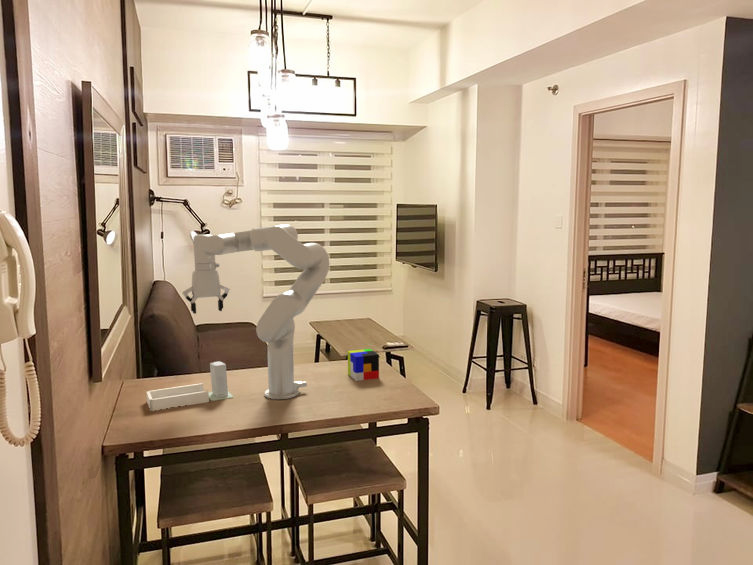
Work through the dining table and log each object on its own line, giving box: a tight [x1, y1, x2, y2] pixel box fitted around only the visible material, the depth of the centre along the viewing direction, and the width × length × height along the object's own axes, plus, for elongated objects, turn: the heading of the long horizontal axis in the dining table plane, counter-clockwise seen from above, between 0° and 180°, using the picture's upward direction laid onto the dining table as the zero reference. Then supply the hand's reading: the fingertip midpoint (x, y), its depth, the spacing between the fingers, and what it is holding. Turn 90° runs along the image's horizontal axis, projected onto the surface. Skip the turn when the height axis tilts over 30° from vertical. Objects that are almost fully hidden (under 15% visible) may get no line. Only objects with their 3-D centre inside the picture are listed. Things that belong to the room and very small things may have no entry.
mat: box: [208, 390, 234, 402], centre depth 222 cm, size 8×10×1 cm
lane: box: [145, 382, 210, 412], centre depth 215 cm, size 20×11×4 cm, turn 117°
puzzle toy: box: [347, 348, 380, 382], centre depth 244 cm, size 10×10×10 cm
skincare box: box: [209, 361, 229, 397], centre depth 221 cm, size 6×4×12 cm
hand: (207, 311), depth 226 cm, fingers open, 9 cm apart
